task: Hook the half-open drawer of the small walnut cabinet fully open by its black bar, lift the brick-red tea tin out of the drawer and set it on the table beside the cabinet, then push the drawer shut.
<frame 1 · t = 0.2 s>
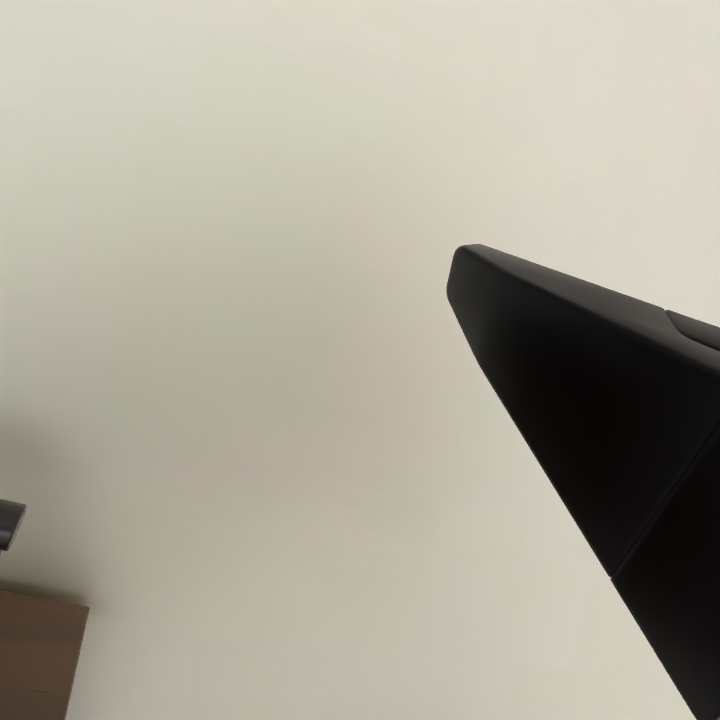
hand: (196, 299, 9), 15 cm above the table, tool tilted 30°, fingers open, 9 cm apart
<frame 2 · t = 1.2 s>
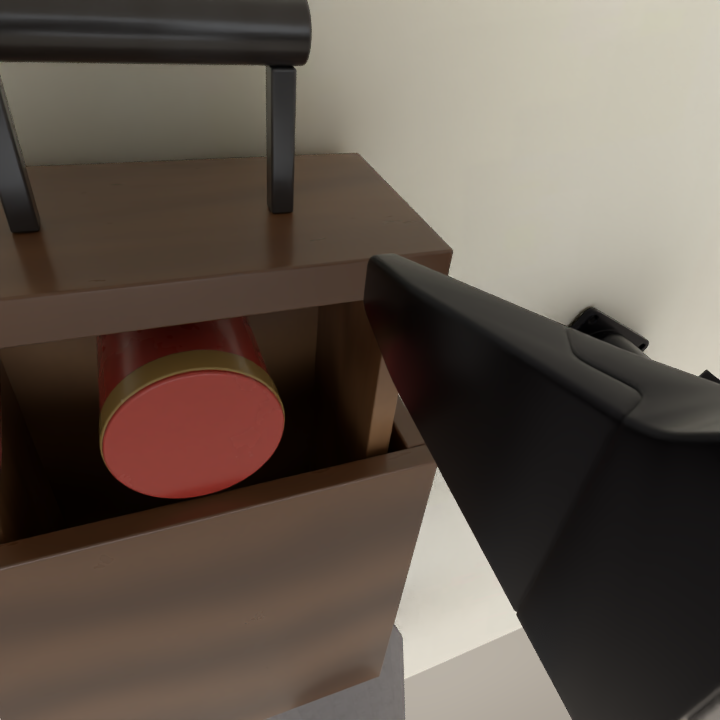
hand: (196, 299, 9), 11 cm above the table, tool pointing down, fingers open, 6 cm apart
coffee pot: (375, 609, 45), on the table
drawer: (181, 369, 18), point 4 cm above the table, slide at 6.0 cm, touching tin
cabinet: (191, 475, 27), on the table
tin: (170, 312, 19), point 2 cm above the table, touching drawer
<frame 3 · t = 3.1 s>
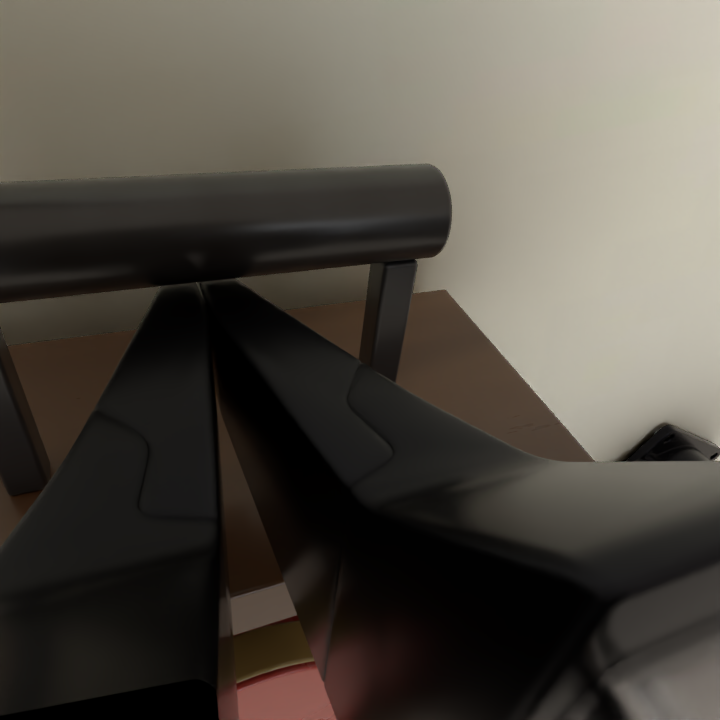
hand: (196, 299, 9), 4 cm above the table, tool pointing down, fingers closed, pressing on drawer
drawer: (226, 577, 14), point 4 cm above the table, slide at 6.9 cm, touching gripper, tin
tin: (209, 489, 15), point 2 cm above the table, touching drawer
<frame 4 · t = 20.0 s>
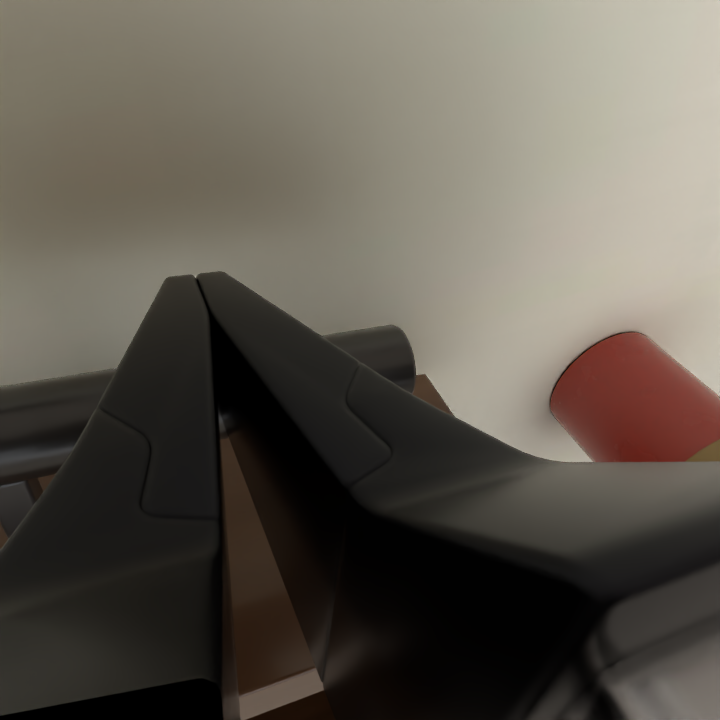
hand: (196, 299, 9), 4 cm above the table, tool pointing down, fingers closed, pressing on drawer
drawer: (229, 641, 16), point 4 cm above the table, slide at 9.5 cm, touching gripper
tin: (600, 379, 22), on the table
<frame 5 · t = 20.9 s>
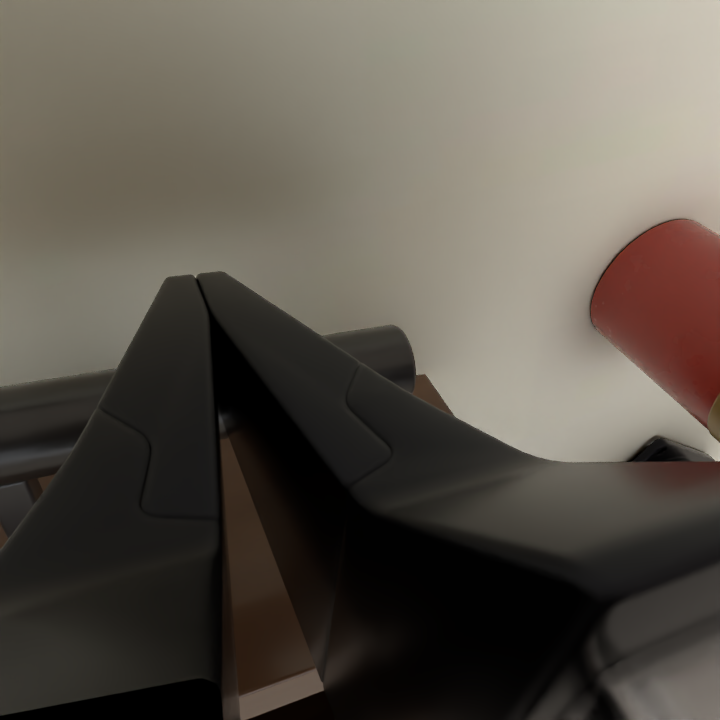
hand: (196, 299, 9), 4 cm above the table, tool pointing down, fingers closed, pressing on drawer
drawer: (229, 641, 15), point 4 cm above the table, slide at 5.0 cm, touching gripper
tin: (647, 281, 19), on the table
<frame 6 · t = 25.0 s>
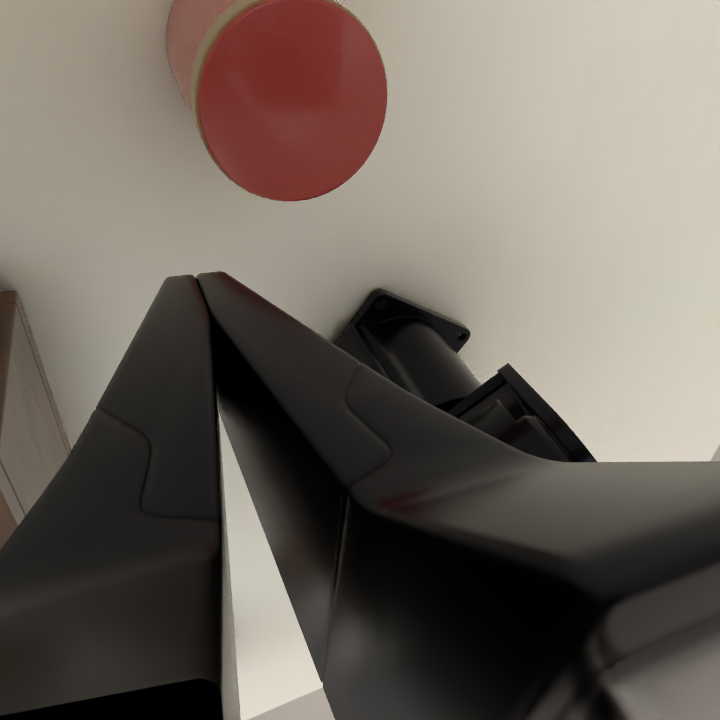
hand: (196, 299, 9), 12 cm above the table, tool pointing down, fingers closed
tin: (243, 49, 18), on the table
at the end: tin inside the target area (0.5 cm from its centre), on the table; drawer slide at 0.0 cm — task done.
